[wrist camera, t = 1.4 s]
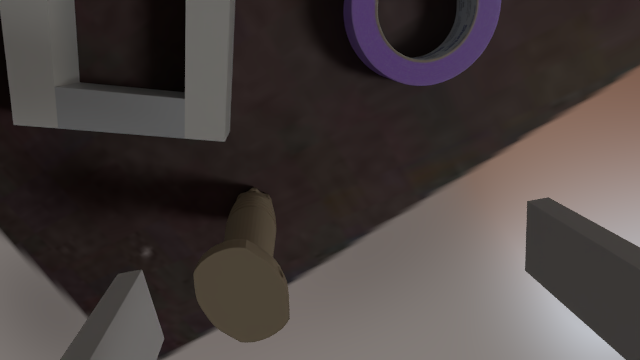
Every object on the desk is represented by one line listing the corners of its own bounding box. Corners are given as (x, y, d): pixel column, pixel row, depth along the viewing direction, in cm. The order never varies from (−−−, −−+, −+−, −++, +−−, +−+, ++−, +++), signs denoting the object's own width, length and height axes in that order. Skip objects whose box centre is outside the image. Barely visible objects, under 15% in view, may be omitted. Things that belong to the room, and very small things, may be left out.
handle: (248, 241, 39) (233, 354, 25) (213, 185, 37) (175, 272, 22) (293, 219, 39) (305, 319, 24) (261, 161, 36) (253, 234, 22)
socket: (43, 115, 33) (13, 124, 29) (22, -95, 29) (-15, -117, 25) (229, 131, 35) (224, 141, 32) (237, -63, 31) (232, -79, 27)
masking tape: (457, 91, 37) (477, 96, 33) (331, 70, 35) (338, 72, 31) (495, -52, 33) (522, -64, 30) (357, -84, 32) (368, -101, 28)
